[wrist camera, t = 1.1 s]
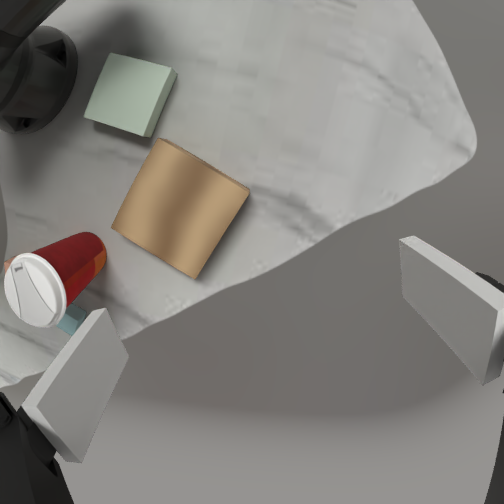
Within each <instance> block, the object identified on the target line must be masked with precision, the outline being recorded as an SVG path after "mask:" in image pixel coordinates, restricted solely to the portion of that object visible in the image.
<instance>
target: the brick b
mask: <svg viewBox="0 0 504 504" xmlns="http://www.w3.org/2000/svg"><path fill="white" fill-rule="evenodd" d="M85 315H86V311H84V310H82V309H81V308H79V307H78V306H76V305H74V304H73V303H71V304H70V305H69V306H68V307H67V308H66V310H65V314H64V316H63V318H62V319H61V320H60V322H59V323H58V324H57V325H56V326H57V327H59V328H60V329H62V330H63V331H65V332H66V333H68V334H69V335H71V336H73V335H74V333H75V332H76V331H77V330H78V328H79V327H80V326H81V324H82V323H83V321H84V318H85Z"/></svg>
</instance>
